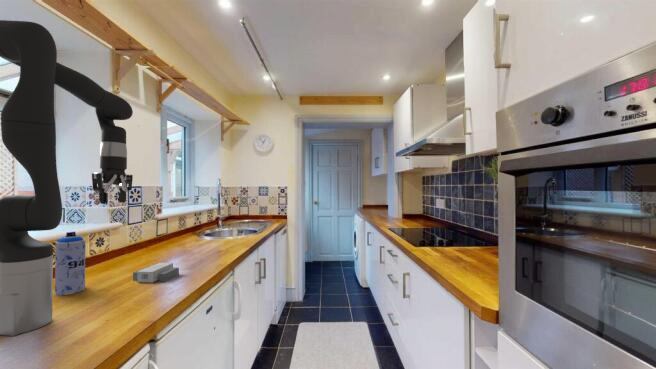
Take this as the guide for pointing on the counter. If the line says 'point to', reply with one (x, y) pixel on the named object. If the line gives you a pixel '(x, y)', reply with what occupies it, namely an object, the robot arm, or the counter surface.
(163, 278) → the charcoal cradle
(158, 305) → the counter surface
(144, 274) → the skincare box
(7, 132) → the robot arm
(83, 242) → the aerosol can
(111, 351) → the counter surface
